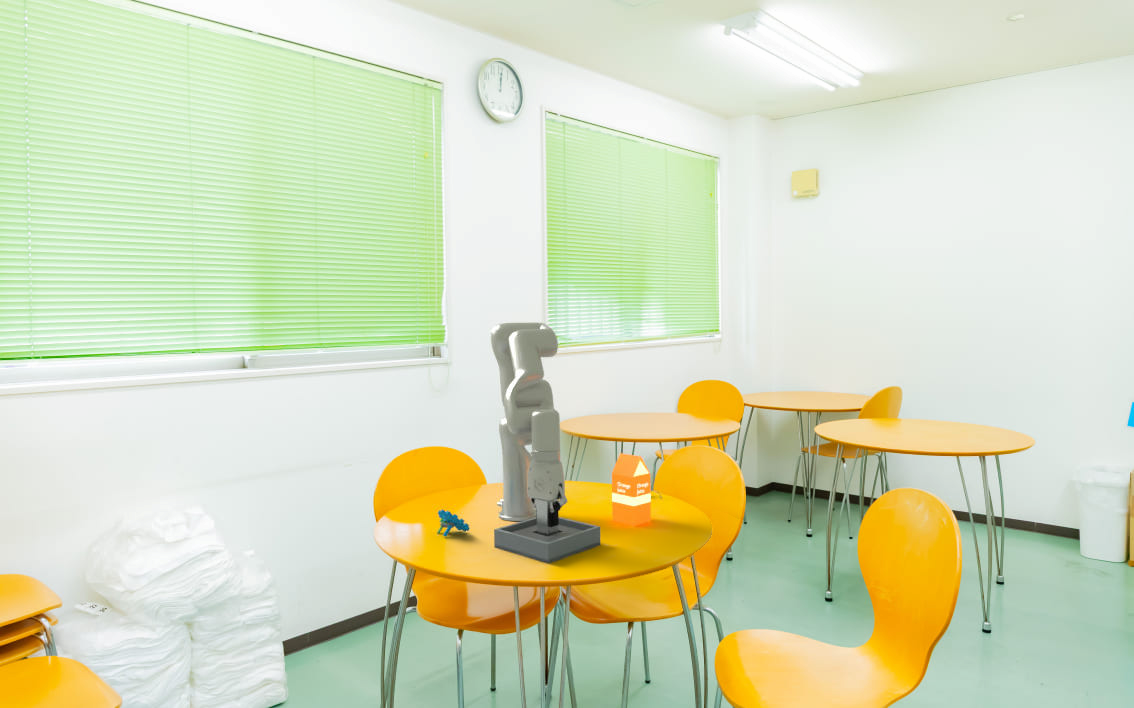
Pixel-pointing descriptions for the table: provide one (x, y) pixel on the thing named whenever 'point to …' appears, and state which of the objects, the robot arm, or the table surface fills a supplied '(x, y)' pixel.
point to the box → (547, 539)
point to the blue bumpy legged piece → (451, 522)
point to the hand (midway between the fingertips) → (547, 523)
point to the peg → (544, 518)
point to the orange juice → (631, 491)
